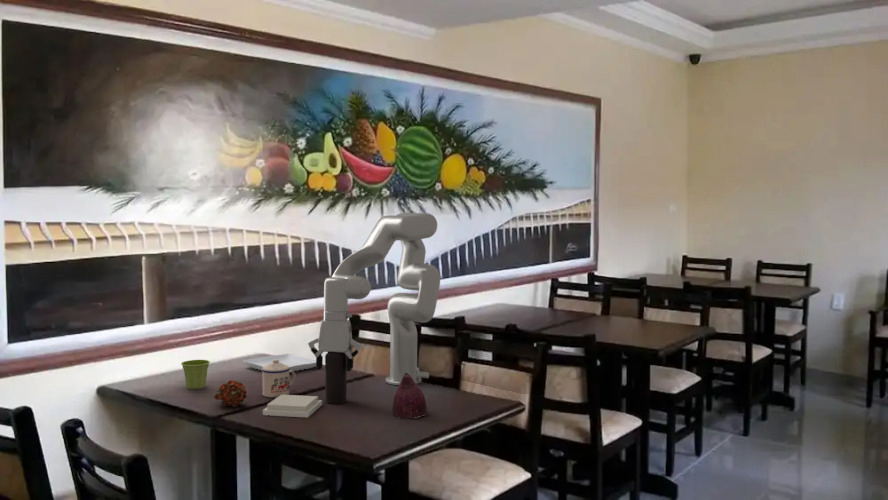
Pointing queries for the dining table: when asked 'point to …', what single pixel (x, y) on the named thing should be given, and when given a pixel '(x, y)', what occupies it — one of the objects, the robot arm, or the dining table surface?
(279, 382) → the teacup with lid
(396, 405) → the vegetable
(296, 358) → the salad plate
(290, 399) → the stand
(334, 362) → the dark brown water bottle
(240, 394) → the dragon fruit
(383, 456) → the dining table surface
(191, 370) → the plant pot
